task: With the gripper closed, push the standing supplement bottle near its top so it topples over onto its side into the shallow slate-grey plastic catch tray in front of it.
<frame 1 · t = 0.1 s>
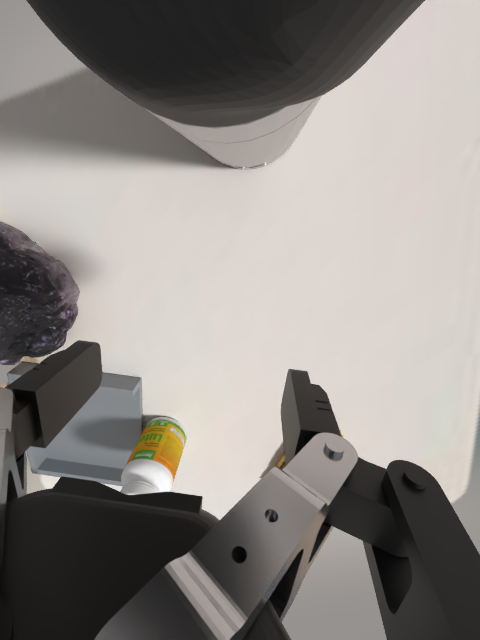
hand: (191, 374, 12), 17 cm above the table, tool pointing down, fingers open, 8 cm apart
crystal cluster: (27, 287, 31), on the table
catch tray: (88, 421, 37), on the table
supplement bottle: (166, 430, 37), on the table
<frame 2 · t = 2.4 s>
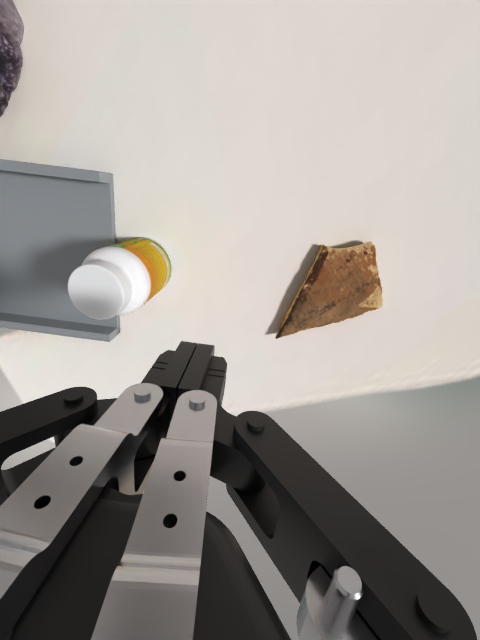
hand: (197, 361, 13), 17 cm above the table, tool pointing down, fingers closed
shard: (334, 297, 30), on the table
catch tray: (47, 252, 29), on the table
supplement bottle: (147, 264, 29), on the table
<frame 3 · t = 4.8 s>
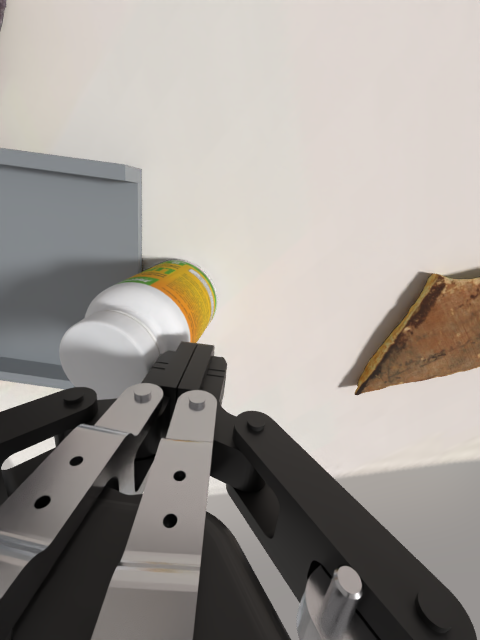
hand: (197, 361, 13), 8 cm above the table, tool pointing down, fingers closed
shard: (435, 340, 22), on the table
catch tray: (46, 276, 21), on the table
supplement bottle: (182, 295, 21), on the table, touching gripper
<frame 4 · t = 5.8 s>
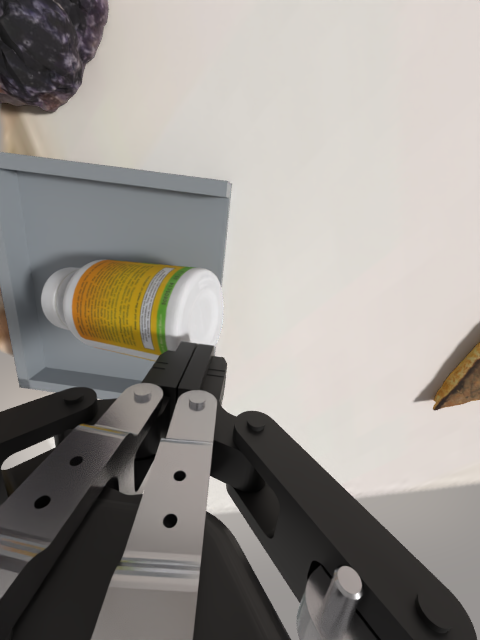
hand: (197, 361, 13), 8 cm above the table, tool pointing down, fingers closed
catch tray: (123, 290, 21), on the table
supplement bottle: (209, 320, 15), point 5 cm above the table, touching catch tray
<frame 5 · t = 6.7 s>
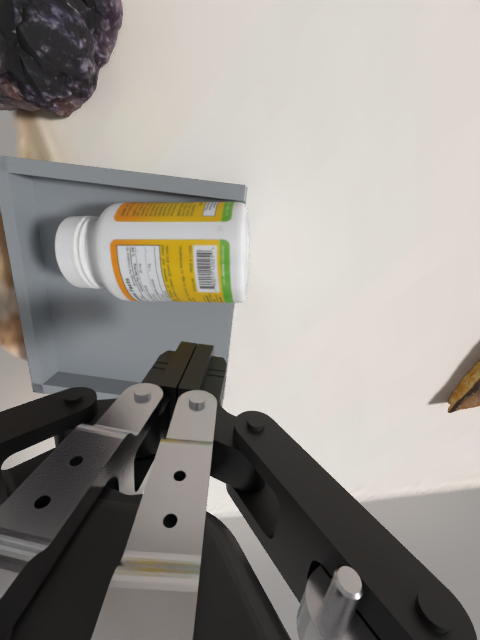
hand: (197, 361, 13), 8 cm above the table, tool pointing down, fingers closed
catch tray: (136, 294, 21), on the table
supplement bottle: (251, 254, 16), point 3 cm above the table, touching catch tray
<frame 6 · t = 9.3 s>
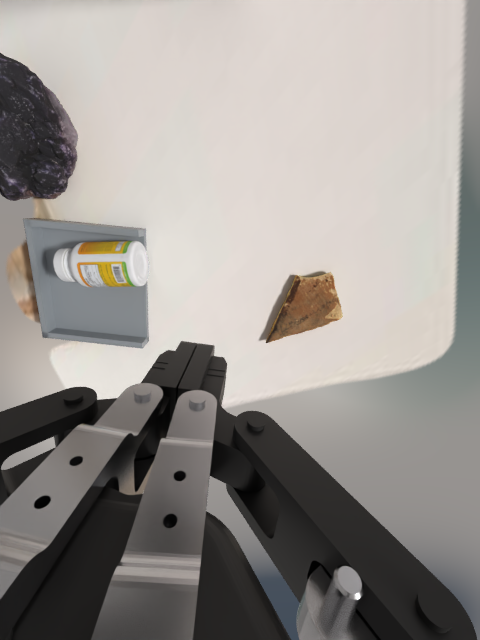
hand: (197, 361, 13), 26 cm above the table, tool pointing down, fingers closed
crystal cluster: (31, 139, 34), on the table
shard: (308, 311, 40), on the table
catch tray: (96, 283, 40), on the table
supplement bottle: (143, 264, 35), point 3 cm above the table, touching catch tray
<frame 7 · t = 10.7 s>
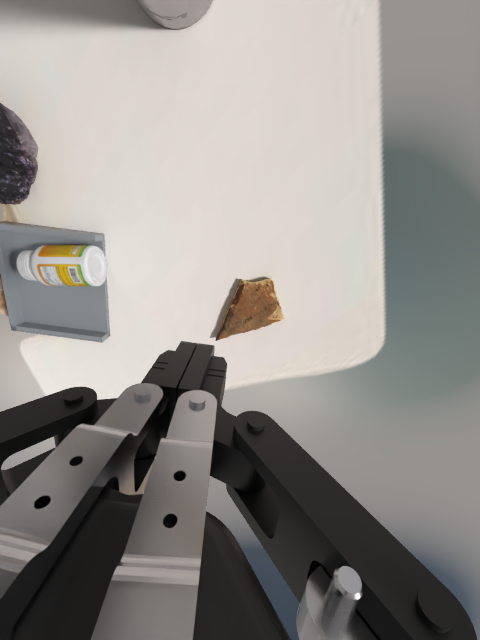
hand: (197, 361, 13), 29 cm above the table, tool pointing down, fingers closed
shard: (254, 312, 44), on the table
catch tray: (60, 282, 43), on the table
supplement bottle: (99, 266, 39), point 3 cm above the table, touching catch tray
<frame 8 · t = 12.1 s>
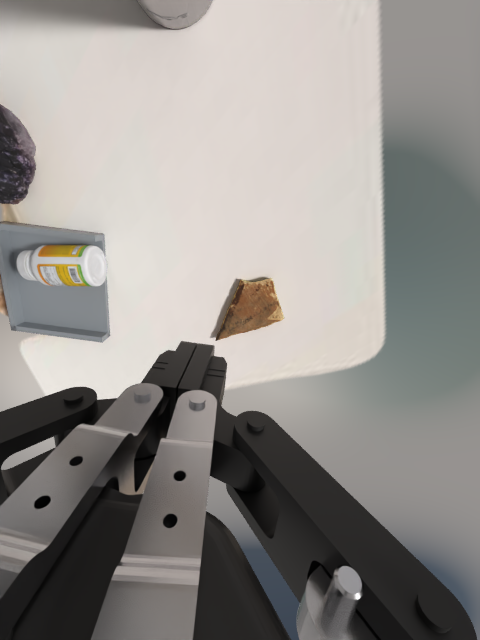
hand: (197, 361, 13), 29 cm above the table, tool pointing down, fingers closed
shard: (254, 312, 44), on the table
catch tray: (60, 282, 43), on the table
supplement bottle: (99, 266, 39), point 3 cm above the table, touching catch tray
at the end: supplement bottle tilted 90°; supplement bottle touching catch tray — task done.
